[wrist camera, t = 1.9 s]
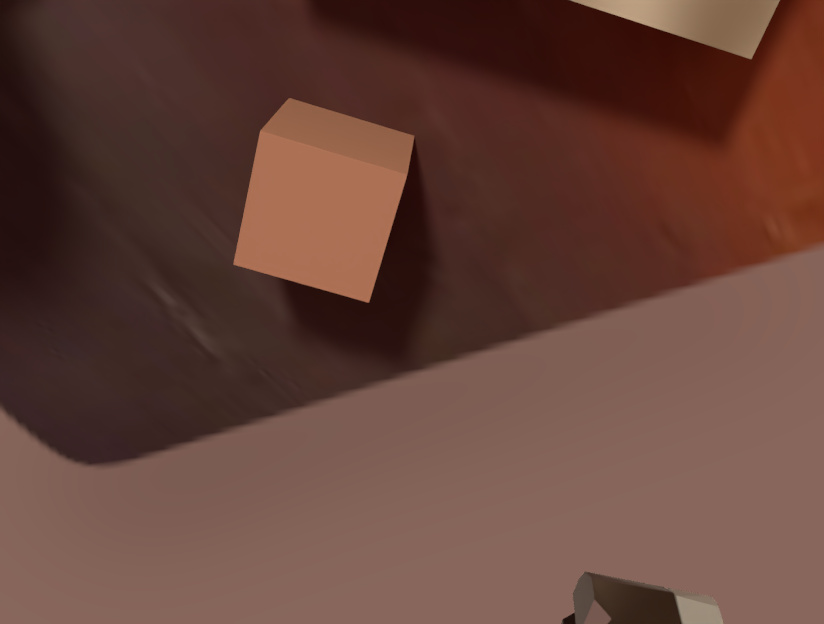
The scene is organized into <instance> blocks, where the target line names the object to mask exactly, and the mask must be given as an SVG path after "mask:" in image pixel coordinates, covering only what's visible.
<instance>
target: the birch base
mask: <svg viewBox="0 0 824 624" xmlns="http://www.w3.org/2000/svg"><path fill="white" fill-rule="evenodd" d="M570 1H573V2H577V3H580V4H583V5H586V6H589V7H592V8H595V9H598V10H601V11H604V12H607V13H610V14H613V15H616V16H620V17H623V18H626V19H629V20H632V21H635V22H638V23H641V24H644V25H647V26H650V27H653V28H656V29H659V30H663V31H666V32H669V33H672V34H675V35H678V36H681V37H684V38H687V39H690V40H693V41H696V42H699V43H702V44H705V45H709V46H712V47H715V48H718V49H721V50H724V51H727V52H730V53H733V54H736V55H739V56H742V57H745V58H748V59H752V57H753V55H754V53H755V51H756V49H757V47H758V45H759V42H760V40H761V38H762V36H763V34H764V32H765V30H766V28H767V26H768V24H769V22H770V20H771V18H772V16H773V14H774V11H775V9H776V7H777V5H778V3H779V1H780V0H570Z"/></svg>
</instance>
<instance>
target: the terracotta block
mask: <svg viewBox="0 0 824 624" xmlns="http://www.w3.org/2000/svg"><path fill="white" fill-rule="evenodd" d="M413 142H414V136H413V135H409V134H406V133H403V132H400V131H396V130H393V129H390V128H386V127H383V126H380V125H377V124H373V123H370V122H367V121H363V120H360V119H357V118H353V117H350V116H347V115H344V114H340V113H337V112H334V111H330V110H327V109H324V108H320V107H317V106H314V105H311V104H307V103H304V102H301V101H297V100H294V99H291V98H289V99H288V100H287V101H286V102H285V103H284V104H283V106H282V107H281V108H280V109H279V110H278V111H277V112H276V114H275V115H274V116H273V117H272V118H271V119H270V120H269V121H268V123H267V124H266V125H265V126H264V127H263V128H262V129H261V131H260V135H259V140H258V145H257V150H256V155H255V160H254V165H253V170H252V175H251V180H250V185H249V190H248V195H247V200H246V205H245V210H244V215H243V219H242V224H241V229H240V234H239V239H238V244H237V249H236V254H235V259H234V264H233V265H237V266H241V267H244V268H248V269H251V270H255V271H258V272H262V273H265V274H269V275H272V276H276V277H279V278H283V279H286V280H290V281H294V282H297V283H301V284H304V285H308V286H311V287H315V288H318V289H322V290H325V291H329V292H332V293H336V294H339V295H343V296H347V297H350V298H354V299H357V300H361V301H364V302H368V303H369V301H370V298H371V294H372V291H373V288H374V284H375V281H376V278H377V274H378V271H379V268H380V264H381V261H382V258H383V254H384V251H385V248H386V244H387V241H388V238H389V234H390V231H391V228H392V224H393V221H394V218H395V214H396V211H397V208H398V204H399V201H400V198H401V194H402V191H403V188H404V184H405V181H406V178H407V174H408V169H409V163H410V158H411V152H412V147H413Z"/></svg>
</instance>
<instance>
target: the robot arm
mask: <svg viewBox="0 0 824 624" xmlns="http://www.w3.org/2000/svg"><path fill="white" fill-rule="evenodd" d="M573 600H574V610H575V613H573V614H572V615H570V616H568V617H566V618H564V619H563V620H562V623H561V624H724V623H723V620H722V616H721V613H720V610H719V607H718V604H717V603H716V601H715V600H714V599H713V598H712V597H711V596H707V595H702V594H697V593H692V592H687V591H682V590H677V589H672V588H668V589H666V588H664V587H660V586H655V585H650V584H645V583H640V582H635V581H630V580H625V579H620V578H614V577H610V576H605V575H600V574H595V573H590V572H584V574H583V575H582V576H581V577H580V578H579V580H578V583H577V585H576V588H575V590H574V592H573Z"/></svg>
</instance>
